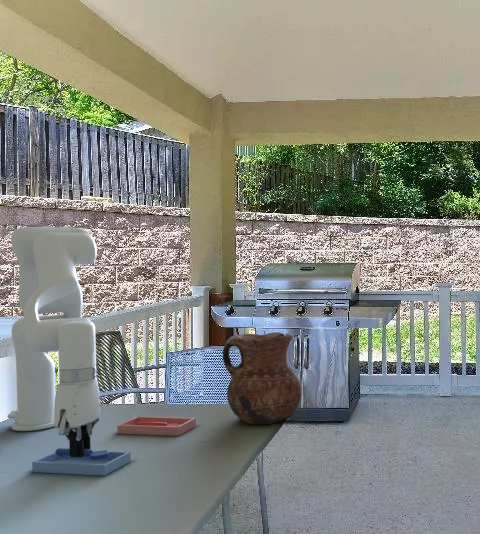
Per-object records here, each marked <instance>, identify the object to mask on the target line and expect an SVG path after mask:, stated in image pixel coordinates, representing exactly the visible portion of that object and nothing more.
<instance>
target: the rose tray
mask: <svg viewBox="0 0 480 534" xmlns="http://www.w3.org/2000/svg"><path fill="white" fill-rule="evenodd" d="M136 422H165V423H167V424H173V423H177V424H180V426H178V427H174V426H144V425H135V424H136ZM116 427H117V428H116V431H117V434H119V435H120V434H121V435H122V434H124V435H144V436H145V435H147V436H149V435H151V436H176V437H178V436H180V435H183V434H184V433H186V432H188V431H190V430H192V429H194V428H195V427H197V419H196V418H195V417H171V416H169V417H166V416H135V417H133V418H131V419H129V420H126V421H124V422H121V423H120V424H117V425H116Z"/></svg>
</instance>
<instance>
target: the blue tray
mask: <svg viewBox="0 0 480 534" xmlns="http://www.w3.org/2000/svg"><path fill="white" fill-rule="evenodd" d="M92 450H93V451H94V452H95V451H96V450H94V449H92ZM108 451H109V456H108V457H106V458H103V459H98V460H92V459H90V458H89V457H84V456H83V457H70V456H61V455H56V453H55V451H54V452H51V453H49V454H47V455H45V456H42V457H40V458H37V459H36V460H33V461H32V462H31V468H32V469H31V473H44V474H46V473H48V474H64V475H65V474H67V475H83V476H84V475H85V476H88V475H89V476H102V477H103V476H107V475H108V474H110V473H113V472H114V471H117V470H119V469H120V468H122V467H123V466H126V465H127V464H129V463H131V462H132V461H131V459H132V458H131V451H118V450H117V451H115V450H108Z"/></svg>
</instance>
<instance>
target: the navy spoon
mask: <svg viewBox="0 0 480 534" xmlns="http://www.w3.org/2000/svg"><path fill="white" fill-rule="evenodd" d="M93 450H94V449H92V448H91V449H84V457H89V458H90V459H92V460H98V459H103V458H106V457H108V456H109V451H110V450H105V449H102V450H95V452H94V451H93ZM54 452H55V453H56V455H61V456H70V448H69V447H68V448H66V447H65V448H64V447H58V448H57V449H55V451H54Z"/></svg>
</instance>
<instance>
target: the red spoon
mask: <svg viewBox="0 0 480 534" xmlns="http://www.w3.org/2000/svg"><path fill="white" fill-rule="evenodd" d="M135 425H144V426H174V427H178V426H180V424H177V423H173V424H167V423H165V422H136V424H135Z"/></svg>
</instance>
